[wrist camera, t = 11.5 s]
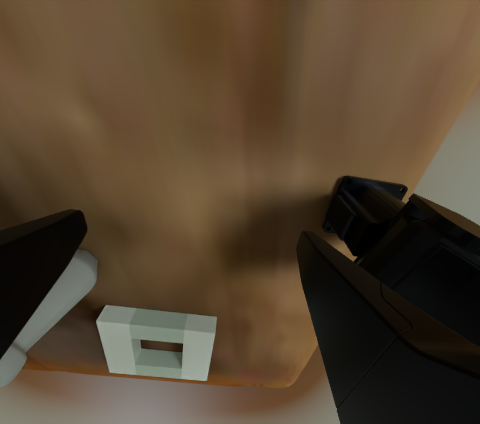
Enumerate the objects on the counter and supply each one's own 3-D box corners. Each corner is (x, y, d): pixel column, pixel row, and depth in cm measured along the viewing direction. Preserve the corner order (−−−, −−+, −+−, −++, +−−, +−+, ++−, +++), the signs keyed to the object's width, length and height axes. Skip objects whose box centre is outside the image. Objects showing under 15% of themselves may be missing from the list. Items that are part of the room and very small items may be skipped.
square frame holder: (216, 316, 33) (215, 333, 31) (208, 364, 40) (206, 380, 38) (105, 304, 32) (96, 321, 30) (117, 356, 39) (109, 372, 37)
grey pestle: (95, 284, 30) (6, 406, 18) (51, 263, 28) (-78, 386, 17) (113, 258, 27) (22, 380, 16) (65, 234, 26) (-74, 353, 14)
